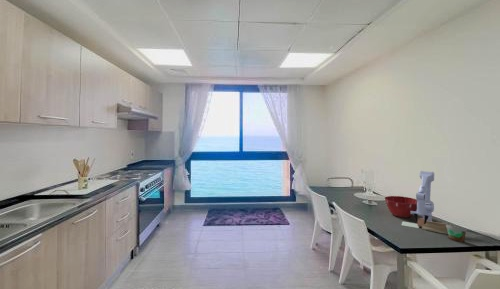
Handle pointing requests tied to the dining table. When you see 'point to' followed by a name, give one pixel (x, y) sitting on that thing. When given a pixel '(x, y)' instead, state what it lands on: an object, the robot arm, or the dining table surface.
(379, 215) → the dining table surface
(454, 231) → the food container
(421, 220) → the block
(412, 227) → the mat
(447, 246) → the dining table surface
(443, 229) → the crate
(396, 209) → the mixing bowl
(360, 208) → the dining table surface
